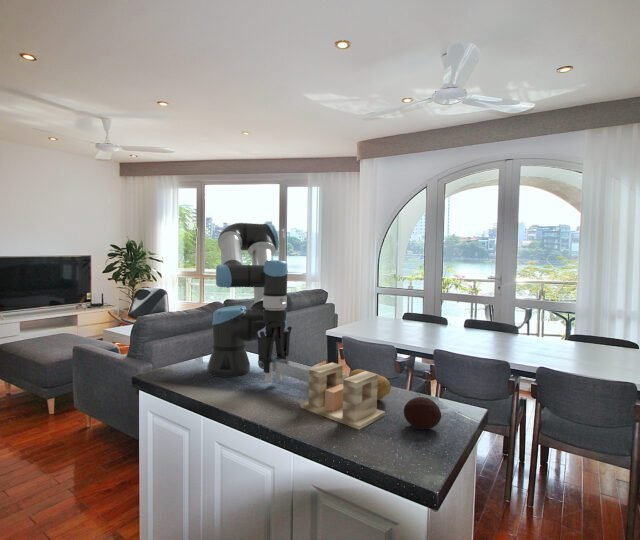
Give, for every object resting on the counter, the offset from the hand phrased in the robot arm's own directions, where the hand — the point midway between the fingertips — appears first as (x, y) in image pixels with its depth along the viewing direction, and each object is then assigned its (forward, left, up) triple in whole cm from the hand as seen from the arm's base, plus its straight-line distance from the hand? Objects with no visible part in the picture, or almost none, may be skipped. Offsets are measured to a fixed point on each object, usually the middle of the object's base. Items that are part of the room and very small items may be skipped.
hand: (273, 380), depth 125 cm
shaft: (+8, 0, +3) cm, 9 cm away
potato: (+28, +13, -2) cm, 31 cm away
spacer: (+25, 0, +2) cm, 25 cm away
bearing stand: (+28, 0, -2) cm, 28 cm away
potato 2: (+49, +6, -2) cm, 49 cm away
